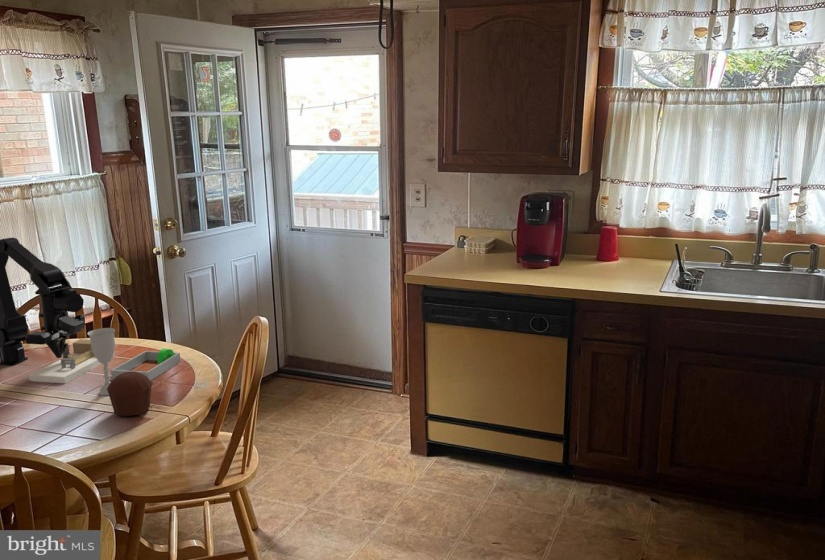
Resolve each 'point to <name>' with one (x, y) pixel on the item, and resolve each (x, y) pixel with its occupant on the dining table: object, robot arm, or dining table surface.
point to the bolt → (76, 358)
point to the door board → (67, 366)
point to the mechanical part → (164, 355)
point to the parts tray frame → (143, 357)
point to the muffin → (130, 393)
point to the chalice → (103, 351)
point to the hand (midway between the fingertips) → (59, 357)
